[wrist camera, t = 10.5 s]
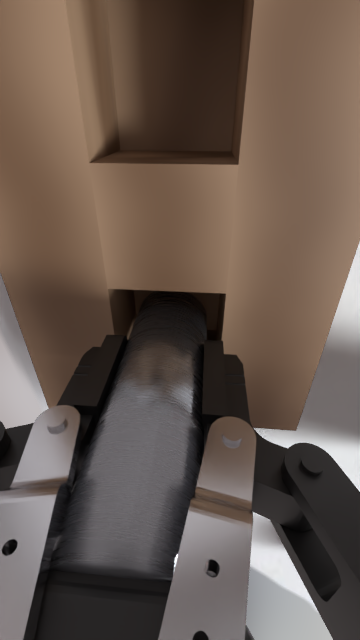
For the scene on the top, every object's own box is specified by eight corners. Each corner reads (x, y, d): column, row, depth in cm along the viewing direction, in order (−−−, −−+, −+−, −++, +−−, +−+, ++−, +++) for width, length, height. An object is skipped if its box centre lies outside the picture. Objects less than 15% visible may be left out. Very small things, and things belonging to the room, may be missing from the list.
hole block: (404, -164, 9) (579, -414, 5) (278, 364, 20) (296, 430, 16) (-31, -138, 10) (-213, -327, 5) (82, 353, 21) (50, 413, 17)
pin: (208, 289, 13) (203, 573, 5) (205, 347, 15) (197, 626, 7) (136, 286, 14) (20, 553, 5) (141, 343, 15) (59, 609, 7)
